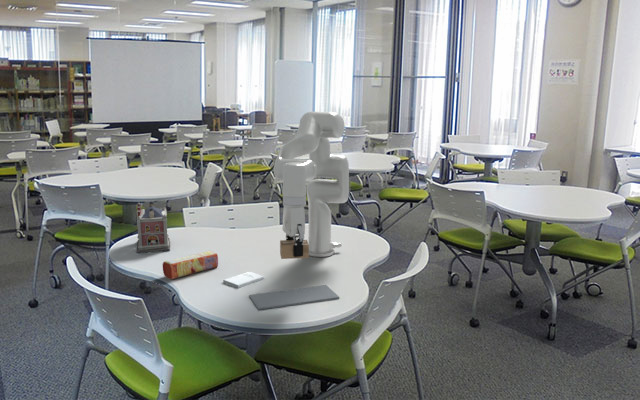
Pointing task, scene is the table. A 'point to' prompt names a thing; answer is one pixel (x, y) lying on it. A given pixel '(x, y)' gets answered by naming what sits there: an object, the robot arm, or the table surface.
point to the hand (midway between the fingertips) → (294, 252)
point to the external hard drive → (243, 279)
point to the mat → (293, 297)
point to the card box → (287, 249)
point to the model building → (152, 230)
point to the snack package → (190, 264)
